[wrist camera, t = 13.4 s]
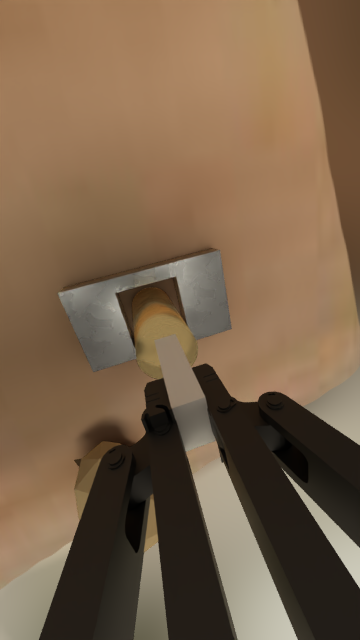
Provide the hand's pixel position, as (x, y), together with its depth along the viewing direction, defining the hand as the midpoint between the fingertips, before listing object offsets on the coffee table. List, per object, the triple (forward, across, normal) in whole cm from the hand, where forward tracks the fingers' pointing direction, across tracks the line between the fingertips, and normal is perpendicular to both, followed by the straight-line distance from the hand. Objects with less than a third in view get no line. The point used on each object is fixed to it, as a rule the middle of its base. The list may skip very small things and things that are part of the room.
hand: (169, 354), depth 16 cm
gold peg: (+11, 0, 0) cm, 11 cm away
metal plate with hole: (+11, 0, 0) cm, 11 cm away
